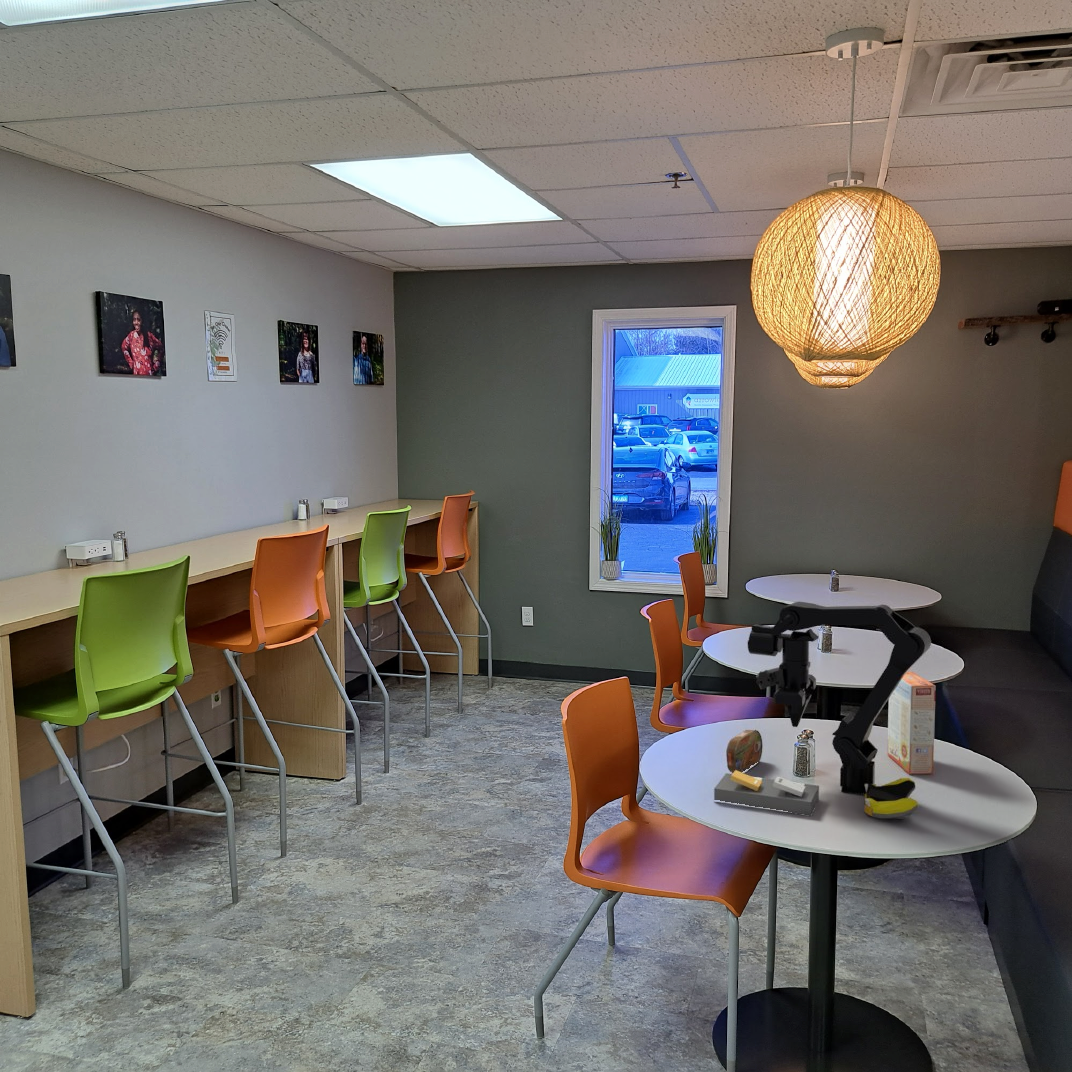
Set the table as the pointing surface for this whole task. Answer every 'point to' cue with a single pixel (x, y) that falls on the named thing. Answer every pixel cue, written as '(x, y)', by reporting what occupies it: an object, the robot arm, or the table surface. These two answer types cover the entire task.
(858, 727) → the robot arm
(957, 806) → the table surface
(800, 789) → the grey rocker
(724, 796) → the rocker switch panel
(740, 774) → the block
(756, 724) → the table surface
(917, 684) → the cracker box
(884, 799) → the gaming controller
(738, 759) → the tin
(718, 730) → the table surface
